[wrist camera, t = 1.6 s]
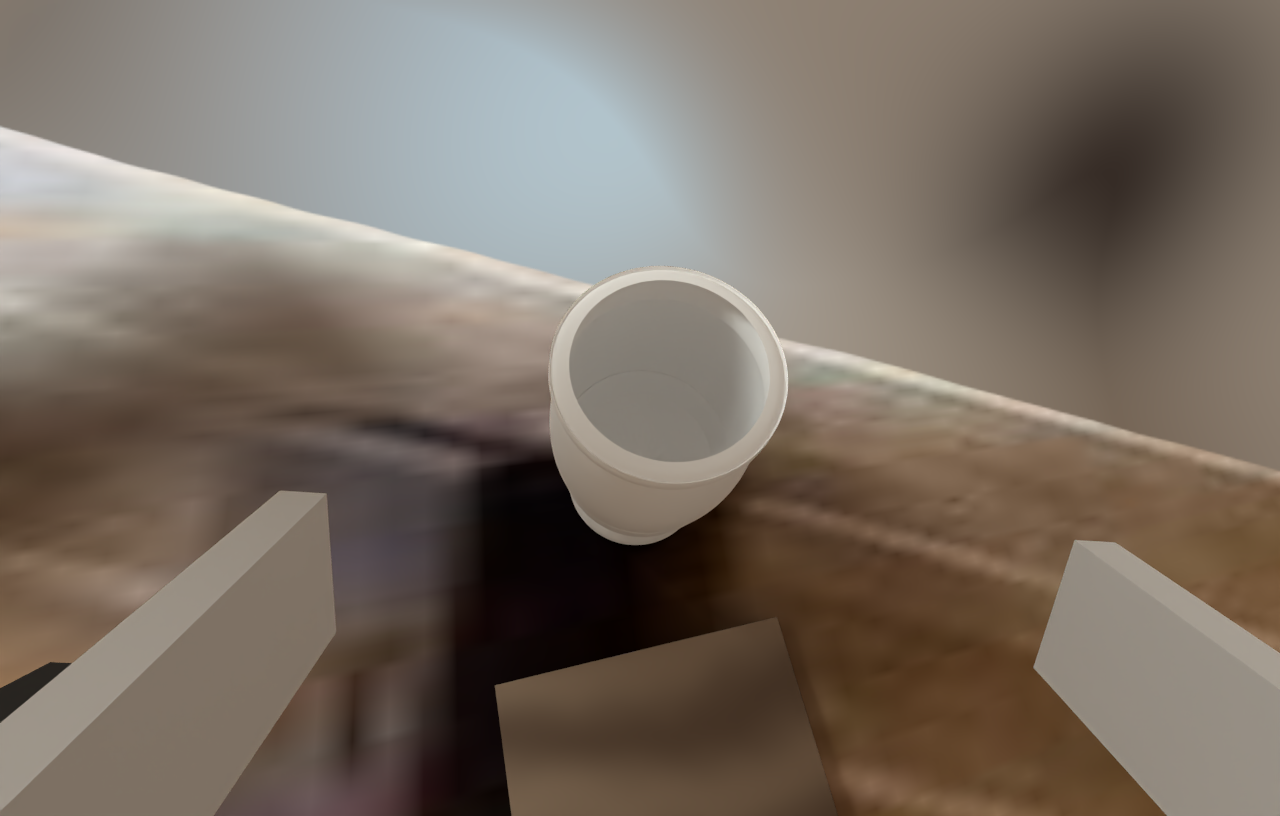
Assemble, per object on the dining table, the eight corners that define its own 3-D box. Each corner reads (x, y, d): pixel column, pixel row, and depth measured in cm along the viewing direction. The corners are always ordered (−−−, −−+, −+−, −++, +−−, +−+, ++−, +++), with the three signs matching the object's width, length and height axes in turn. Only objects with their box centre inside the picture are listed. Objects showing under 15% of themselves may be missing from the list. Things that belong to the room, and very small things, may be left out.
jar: (580, 386, 43) (588, 238, 29) (728, 428, 42) (805, 298, 29) (529, 537, 38) (510, 442, 24) (695, 584, 38) (769, 516, 24)
